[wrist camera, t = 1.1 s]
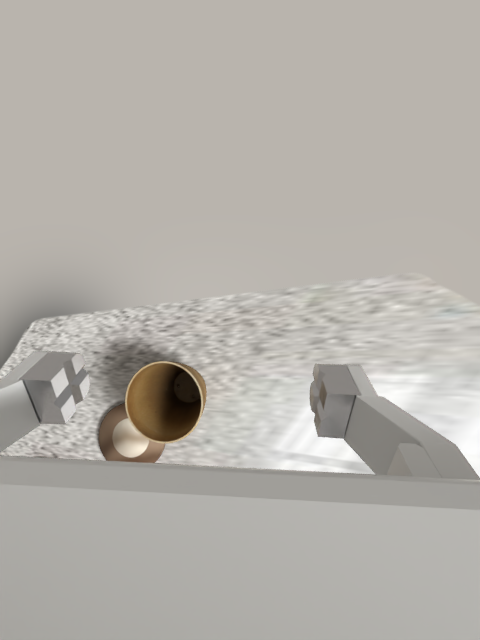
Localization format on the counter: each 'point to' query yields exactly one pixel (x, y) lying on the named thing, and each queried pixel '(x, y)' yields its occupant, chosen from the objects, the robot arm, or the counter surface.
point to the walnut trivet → (125, 440)
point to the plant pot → (165, 401)
